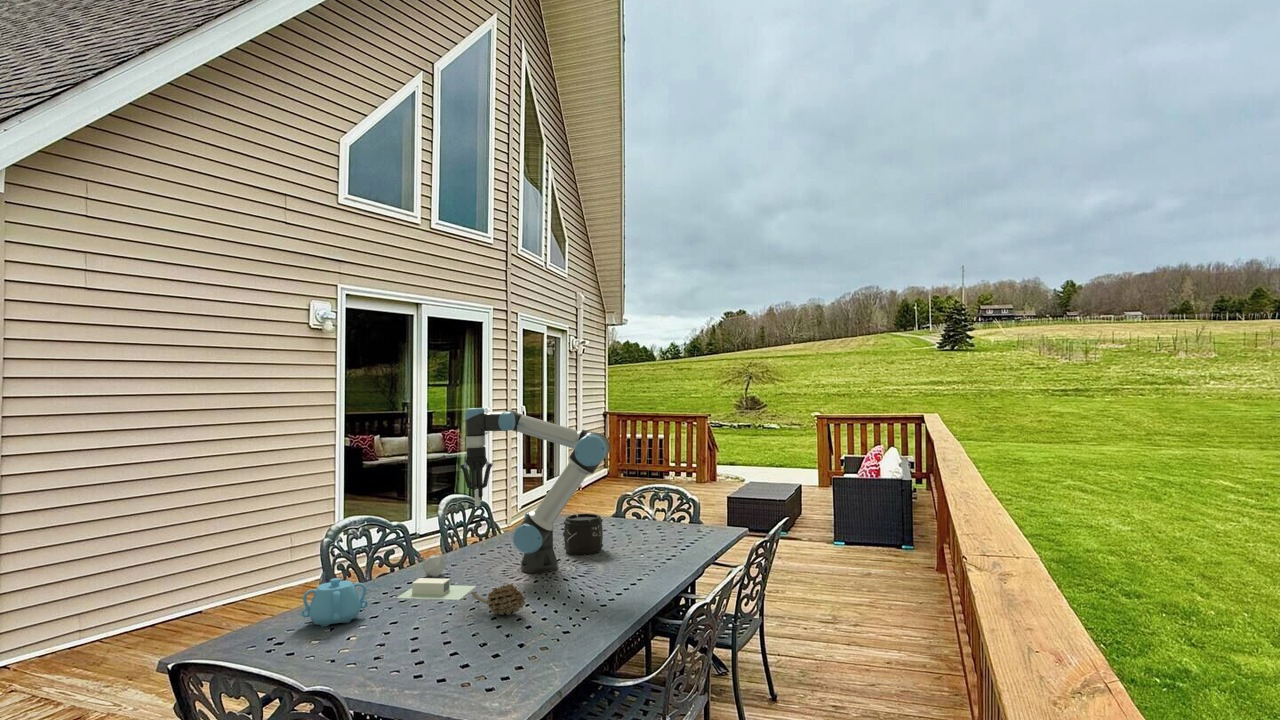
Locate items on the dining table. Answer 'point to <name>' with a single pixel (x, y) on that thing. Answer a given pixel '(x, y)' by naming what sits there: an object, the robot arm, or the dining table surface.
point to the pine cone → (503, 599)
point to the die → (434, 565)
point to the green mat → (452, 594)
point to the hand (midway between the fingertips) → (477, 505)
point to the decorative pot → (334, 602)
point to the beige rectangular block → (430, 586)
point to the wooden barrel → (583, 534)
